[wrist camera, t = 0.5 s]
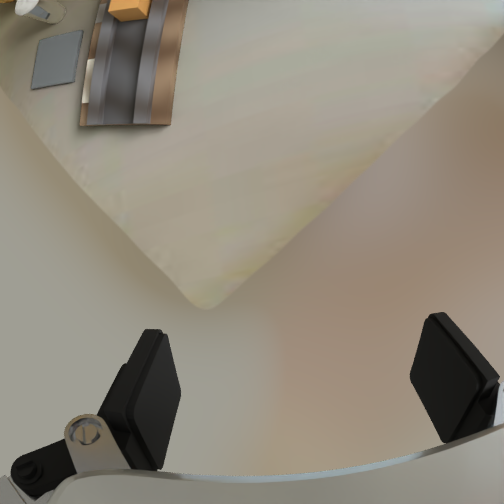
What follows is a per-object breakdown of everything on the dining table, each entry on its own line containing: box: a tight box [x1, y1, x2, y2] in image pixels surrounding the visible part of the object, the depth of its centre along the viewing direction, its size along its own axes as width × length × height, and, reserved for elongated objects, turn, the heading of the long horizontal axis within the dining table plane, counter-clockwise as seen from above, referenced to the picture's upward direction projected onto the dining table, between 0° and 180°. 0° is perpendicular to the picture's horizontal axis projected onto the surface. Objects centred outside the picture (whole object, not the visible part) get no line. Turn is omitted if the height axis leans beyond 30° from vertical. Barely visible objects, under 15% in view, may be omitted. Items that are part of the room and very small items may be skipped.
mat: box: [31, 30, 83, 89], centre depth 31 cm, size 8×8×1 cm
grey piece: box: [80, 0, 189, 126], centre depth 30 cm, size 20×12×4 cm, turn 174°
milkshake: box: [15, 0, 66, 24], centre depth 23 cm, size 4×5×10 cm
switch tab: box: [108, 0, 152, 22], centre depth 25 cm, size 4×4×4 cm
